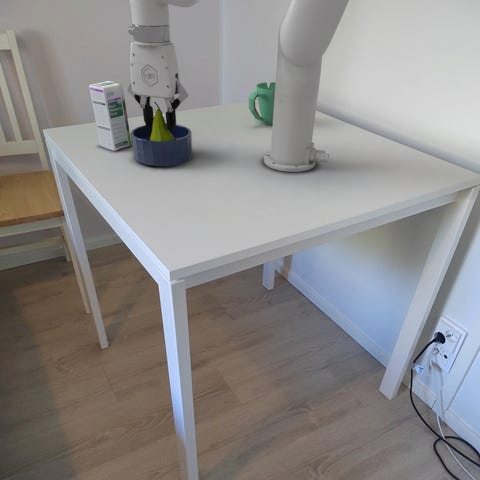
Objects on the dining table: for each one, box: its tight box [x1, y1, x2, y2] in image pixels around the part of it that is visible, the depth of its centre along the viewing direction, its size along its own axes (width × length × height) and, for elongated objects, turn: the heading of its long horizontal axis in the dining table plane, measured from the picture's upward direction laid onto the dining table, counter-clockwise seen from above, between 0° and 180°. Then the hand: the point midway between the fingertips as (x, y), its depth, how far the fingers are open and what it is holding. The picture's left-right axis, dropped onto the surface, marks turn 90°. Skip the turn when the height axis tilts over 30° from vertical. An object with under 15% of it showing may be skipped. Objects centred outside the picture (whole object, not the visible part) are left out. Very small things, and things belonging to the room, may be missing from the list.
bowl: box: [130, 123, 193, 167], centre depth 103 cm, size 14×14×6 cm
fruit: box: [150, 101, 175, 141], centre depth 100 cm, size 6×6×12 cm
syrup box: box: [88, 80, 132, 152], centre depth 106 cm, size 6×6×14 cm
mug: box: [248, 81, 276, 126], centre depth 125 cm, size 15×10×10 cm
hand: (160, 126), depth 100 cm, fingers open, 4 cm apart
